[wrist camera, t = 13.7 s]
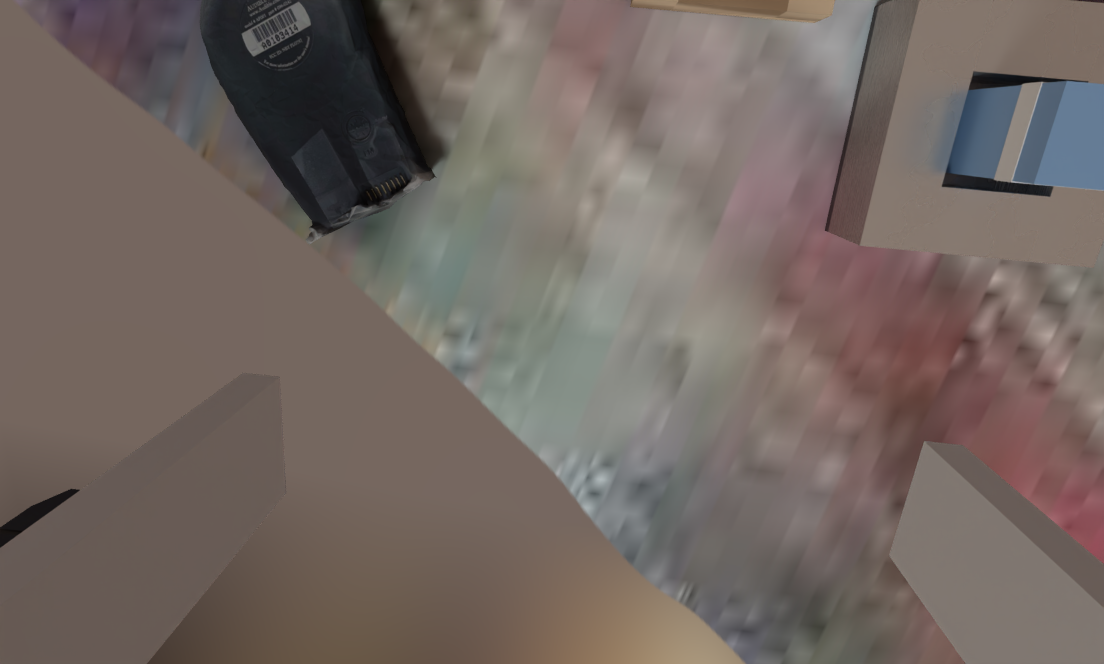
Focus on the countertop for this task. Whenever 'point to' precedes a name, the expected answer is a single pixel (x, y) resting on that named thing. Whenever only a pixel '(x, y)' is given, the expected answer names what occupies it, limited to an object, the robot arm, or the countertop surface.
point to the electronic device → (315, 104)
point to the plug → (1033, 135)
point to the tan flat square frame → (748, 8)
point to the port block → (932, 121)
